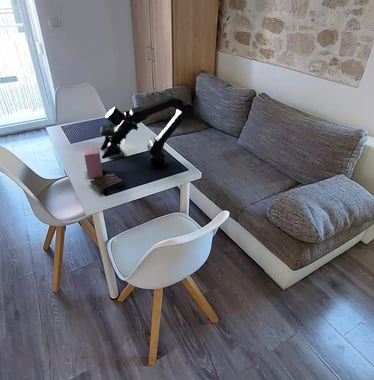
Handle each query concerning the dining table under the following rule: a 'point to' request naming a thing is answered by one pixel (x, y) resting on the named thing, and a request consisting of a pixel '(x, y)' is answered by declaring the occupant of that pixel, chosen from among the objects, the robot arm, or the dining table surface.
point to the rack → (110, 178)
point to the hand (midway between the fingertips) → (101, 153)
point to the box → (93, 162)
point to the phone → (115, 155)
